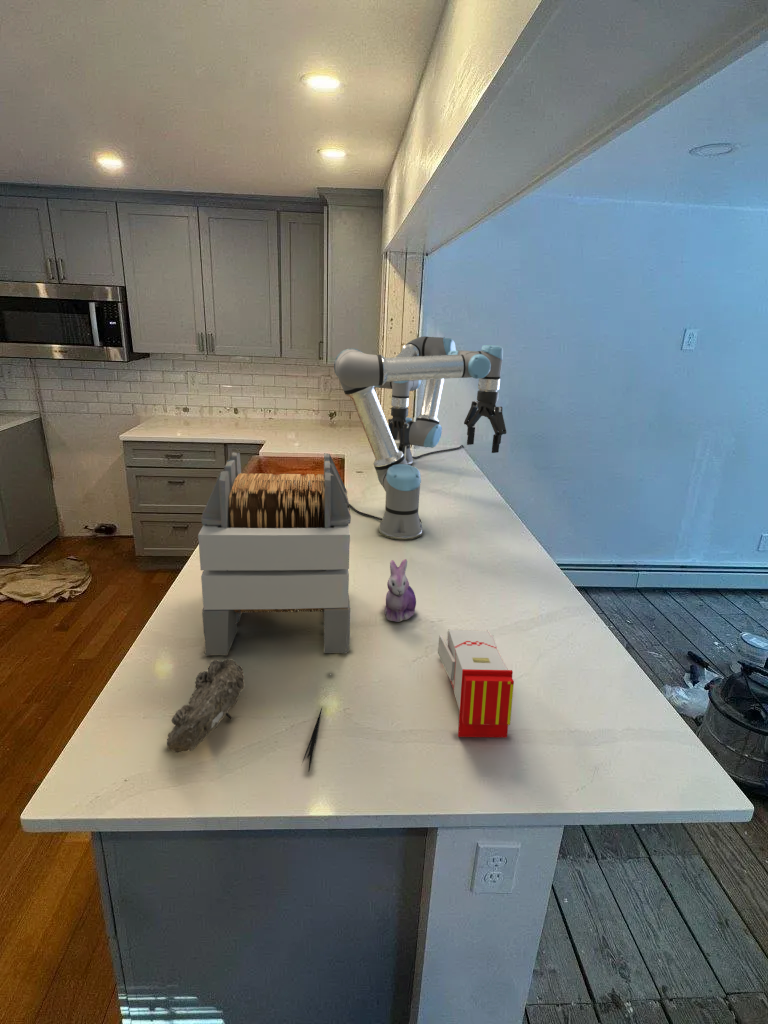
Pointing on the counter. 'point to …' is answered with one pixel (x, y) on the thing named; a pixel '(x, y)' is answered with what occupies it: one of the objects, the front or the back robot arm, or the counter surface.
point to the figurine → (399, 594)
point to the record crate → (275, 551)
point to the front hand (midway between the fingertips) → (482, 448)
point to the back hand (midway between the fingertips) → (397, 459)
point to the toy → (478, 682)
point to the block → (397, 443)
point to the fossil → (206, 705)
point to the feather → (313, 740)
